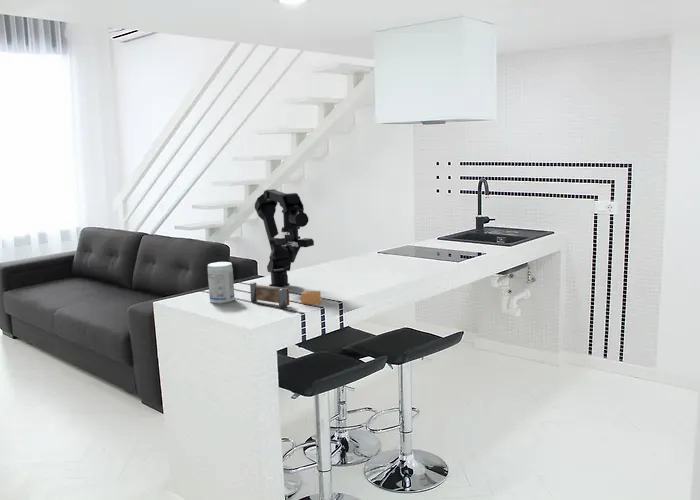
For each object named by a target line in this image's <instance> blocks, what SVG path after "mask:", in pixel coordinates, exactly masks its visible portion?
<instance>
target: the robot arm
mask: <svg viewBox="0 0 700 500" xmlns="http://www.w3.org/2000/svg"><path fill="white" fill-rule="evenodd" d="M278 203H279V206H280V207H281V208H282V209H281V214H282V213H283V214H282V215H283V217H282V218H283V219H282V220H283V227H281V231H280V232H279V230H278V226H277V223H276V220H275V214H276V211H277V209H276V208H277V206H278ZM254 210H255V211H256V213H257V216H258V218H260V219H261V220H262V221H263V224H264V228H265V232H266V235H267V236H266V237H267V239H268V243H269V246H270V254H269V261H268V263H267V266H266V269H267V272H268V273H270V279H271V280H270V281H271V282H270V284H269V285H268V286H272V287H280V288H284V287H286V286H289V285H290V283H289V277H288V272H290V271H291V265H292V264H293V263H294V262H295V261H296V259H297V255H298V253H299V251H300V250H301V248H309V247H313V246H314V245H315V240H314V239H313V238H307V237H304V238H301V236H300V235H299V230H300V229H301V228H304V227H306V226H307V225H308V222H309V216H308V215H307V213H305V211H304V210H305V209H304V204H303V201H302V200H301V197H300V196H299V194H298V193H296V192H293V193H292V192H291V193H285V192H282V191H279V190H277V189H265V190H264V191H263V193H262V194H260V195H259V196H258V197H257V198H256V201H255V203H254Z"/></svg>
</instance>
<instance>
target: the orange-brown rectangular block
mask: <svg viewBox="0 0 700 500" xmlns="http://www.w3.org/2000/svg"><path fill="white" fill-rule="evenodd" d="M321 297H322V296H321V291H319V290H305V291H303V292H301V293H300V300H301V301H300V303H301V304H303V305H304V304H306V305H308V304H309V305H317V304H319V303H320V302H321V299H322V298H321Z"/></svg>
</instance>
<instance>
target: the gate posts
mask: <svg viewBox="0 0 700 500" xmlns="http://www.w3.org/2000/svg"><path fill="white" fill-rule="evenodd" d="M256 285H257V282H249V288H250V303H257V302H258V300H257V299H256ZM281 288H282V289H278V295H279V303H278V309H280V310H284V309H285V310H287V308H288V306H287V290H286V289H284V288H285V287H281Z"/></svg>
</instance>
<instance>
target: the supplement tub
mask: <svg viewBox="0 0 700 500" xmlns="http://www.w3.org/2000/svg"><path fill="white" fill-rule="evenodd" d="M233 271H234V269H233V263H232V262H230V261H229V262H228V261H217V262H211V263H208V264H207V280H208V292H209V293H208V294H209V301H210V302H211V303H213V304H228V303H230V302H233V301H234V300H235V286H234V285H235V284H234V272H233Z"/></svg>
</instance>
